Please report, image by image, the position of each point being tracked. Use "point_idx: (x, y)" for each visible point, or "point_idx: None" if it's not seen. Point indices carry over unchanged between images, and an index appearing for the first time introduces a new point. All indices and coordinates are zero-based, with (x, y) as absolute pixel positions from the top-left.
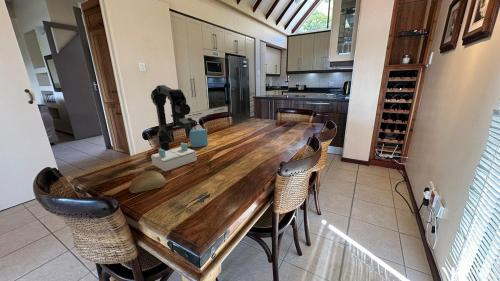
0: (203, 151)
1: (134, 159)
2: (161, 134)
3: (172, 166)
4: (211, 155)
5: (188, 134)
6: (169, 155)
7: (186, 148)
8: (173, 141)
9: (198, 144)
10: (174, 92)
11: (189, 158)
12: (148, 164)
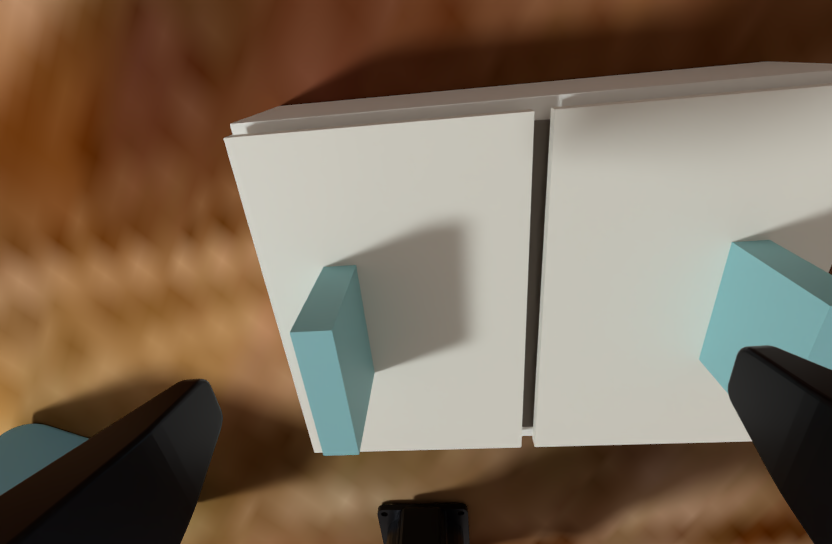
0: (109, 310)
1: (687, 538)
2: None
3: (672, 74)
4: (44, 112)
5: (66, 480)
6: (649, 263)
7: (332, 285)
8: (792, 354)
9: None
10: None
11: (382, 103)
12: None
